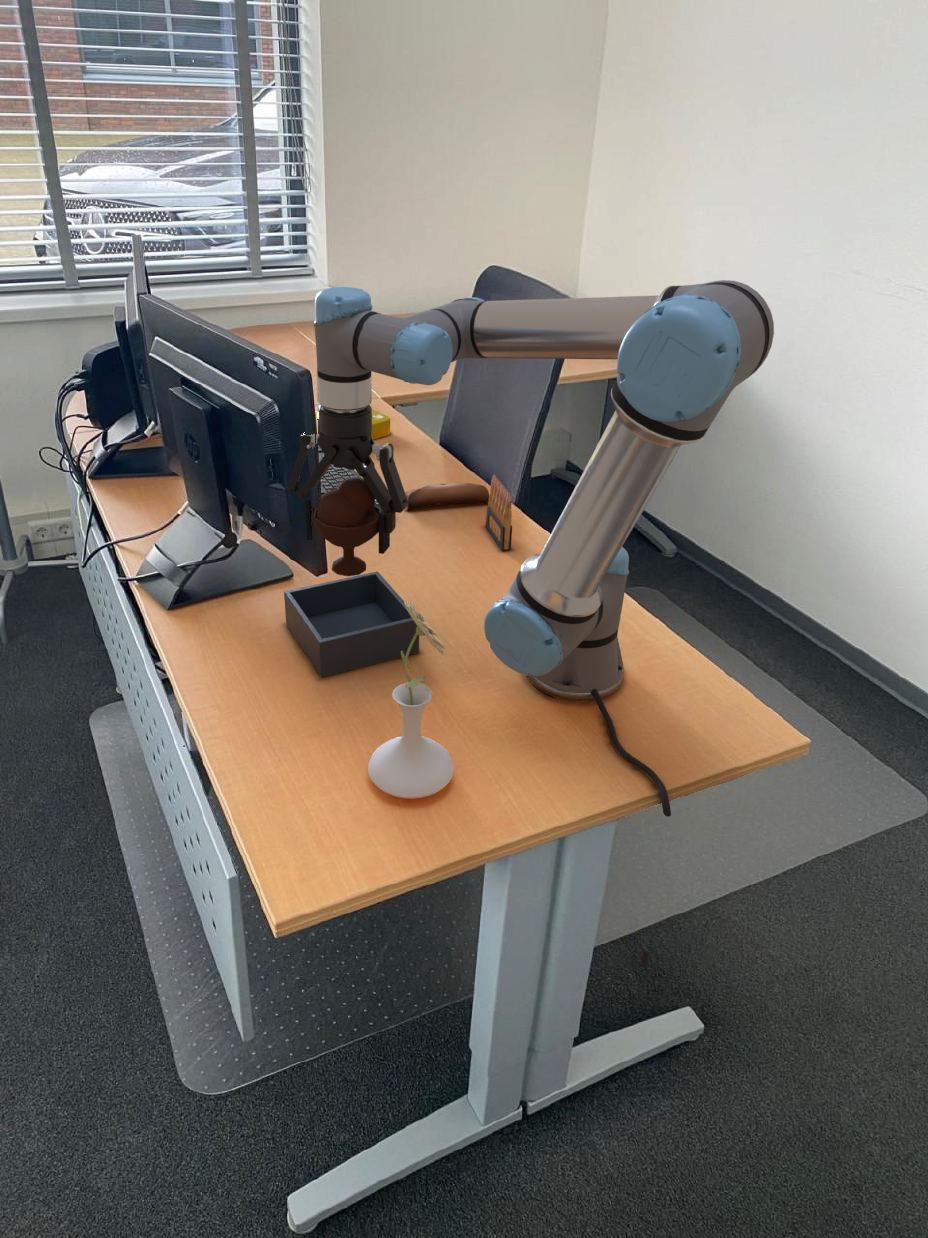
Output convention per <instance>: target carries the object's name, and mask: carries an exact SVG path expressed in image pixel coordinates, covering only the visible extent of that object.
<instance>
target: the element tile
mask: <svg viewBox="0 0 928 1238" xmlns="http://www.w3.org/2000/svg"><path fill="white" fill-rule="evenodd" d="M316 412H317V420H318V433H317V435H319V434H320V430H319V415H318V411H316ZM389 435H391V417H390V416H388V415H386V414H384V413H382V412H380V411H377V410H376V409H373V408H372V439H373V441H374V440H377V439H380V438H385V437H388V436H389Z"/></svg>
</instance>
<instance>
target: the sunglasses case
mask: <svg viewBox="0 0 928 1238" xmlns="http://www.w3.org/2000/svg"><path fill="white" fill-rule="evenodd" d="M489 493H490V491H489V490H488V488H487V487H486V486H485V485H482V484H477V483H473V482H451V483H443V482H442V483H439V484H429V485H428V484H427V485H424V486H421V487H420V488H414V489H410V490H407V491H405V494H406V497H407V500H408V505H407V506H406V508H405V509H404V510H406V511H408V510H409V509H410V510H414V509H421V508H427V507H434V506H437V505H452V504H467V503H475V502H477V503H478V502H486V503H489Z"/></svg>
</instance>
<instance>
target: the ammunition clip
mask: <svg viewBox="0 0 928 1238" xmlns="http://www.w3.org/2000/svg"><path fill="white" fill-rule="evenodd" d="M490 481H491V482H490V487H489V502H488V504H487V505H486V516H485V530H486V531H487V532H488V534H489V535H490V537H491V538H492V539H493V541H494V542H495V544H496V545H497V547H498V548H499V550H500V551H501V552H505V551H512V537H513V525H512V518H513V517H512V516H513V513H512V512H513V511H512V495H511V492H508V488H506V487H505V484H502V481H501V480H499V477H497V475H496V474H495V473H494V474H493V475H492V477H491V480H490Z"/></svg>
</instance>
